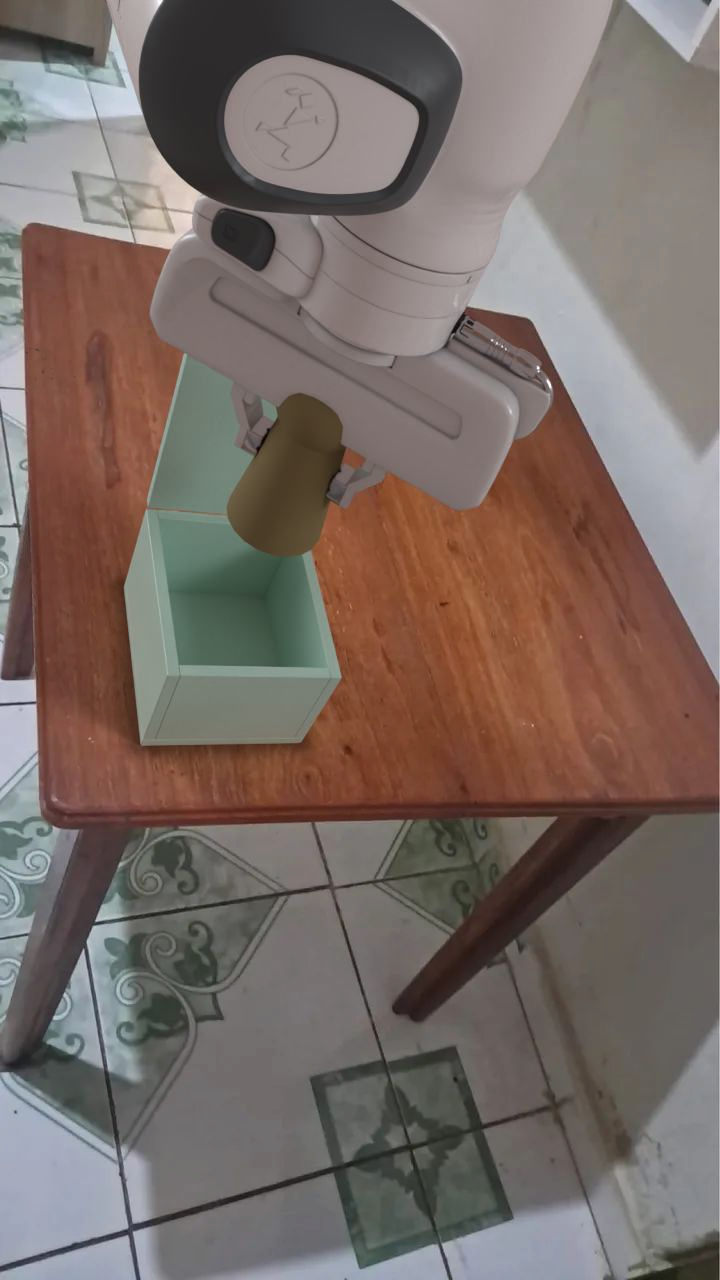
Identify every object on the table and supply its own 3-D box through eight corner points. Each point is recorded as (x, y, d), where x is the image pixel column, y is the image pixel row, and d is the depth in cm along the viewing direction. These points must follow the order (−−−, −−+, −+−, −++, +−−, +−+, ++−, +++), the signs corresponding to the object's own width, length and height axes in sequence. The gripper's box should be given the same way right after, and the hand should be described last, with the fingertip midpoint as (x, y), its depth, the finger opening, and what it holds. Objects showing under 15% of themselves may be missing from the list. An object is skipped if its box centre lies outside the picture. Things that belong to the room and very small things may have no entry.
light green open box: (300, 743, 69) (342, 677, 63) (140, 746, 64) (167, 675, 58) (269, 594, 76) (304, 522, 70) (123, 587, 72) (145, 508, 65)
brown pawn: (338, 526, 60) (407, 394, 52) (283, 573, 56) (348, 437, 48) (266, 469, 61) (322, 328, 53) (206, 510, 57) (257, 366, 49)
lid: (375, 361, 59) (356, 313, 62) (193, 330, 55) (181, 279, 58) (307, 522, 69) (293, 473, 72) (147, 508, 65) (139, 456, 68)
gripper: (583, 348, 48) (462, 530, 58) (227, 138, 47) (169, 359, 57) (556, 410, 43) (431, 594, 54) (165, 180, 43) (114, 411, 53)
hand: (293, 471), depth 55 cm, fingers closed on brown pawn, 4 cm apart
